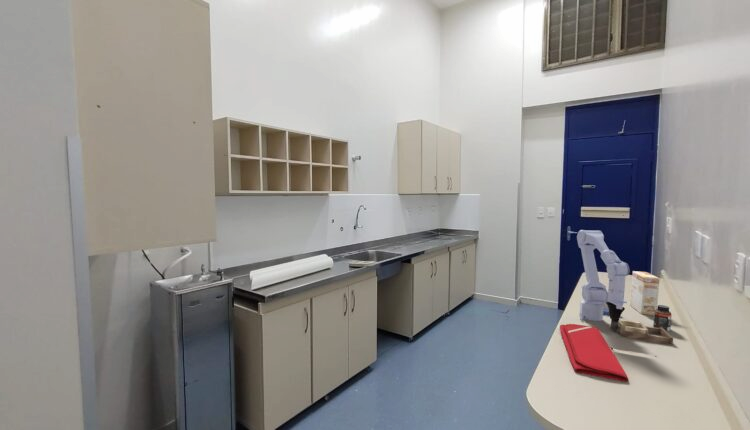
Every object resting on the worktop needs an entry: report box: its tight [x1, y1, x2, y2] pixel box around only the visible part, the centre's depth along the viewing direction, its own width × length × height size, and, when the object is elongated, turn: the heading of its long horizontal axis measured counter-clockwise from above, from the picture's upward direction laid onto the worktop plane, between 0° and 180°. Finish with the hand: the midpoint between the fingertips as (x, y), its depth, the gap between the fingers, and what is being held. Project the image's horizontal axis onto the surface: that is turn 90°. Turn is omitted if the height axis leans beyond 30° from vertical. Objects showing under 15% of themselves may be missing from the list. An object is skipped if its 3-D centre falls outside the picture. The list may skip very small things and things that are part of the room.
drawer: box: [610, 318, 649, 337], centre depth 148 cm, size 12×9×8 cm
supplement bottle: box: [652, 304, 672, 332], centre depth 154 cm, size 6×6×11 cm
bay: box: [622, 325, 674, 346], centre depth 146 cm, size 19×16×4 cm
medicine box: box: [603, 301, 610, 316], centre depth 175 cm, size 8×4×9 cm, turn 68°
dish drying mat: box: [559, 323, 630, 383], centre depth 132 cm, size 16×41×4 cm, turn 158°
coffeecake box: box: [629, 270, 661, 316], centre depth 181 cm, size 15×7×20 cm, turn 161°
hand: (614, 320), depth 150 cm, fingers closed on drawer, 3 cm apart
